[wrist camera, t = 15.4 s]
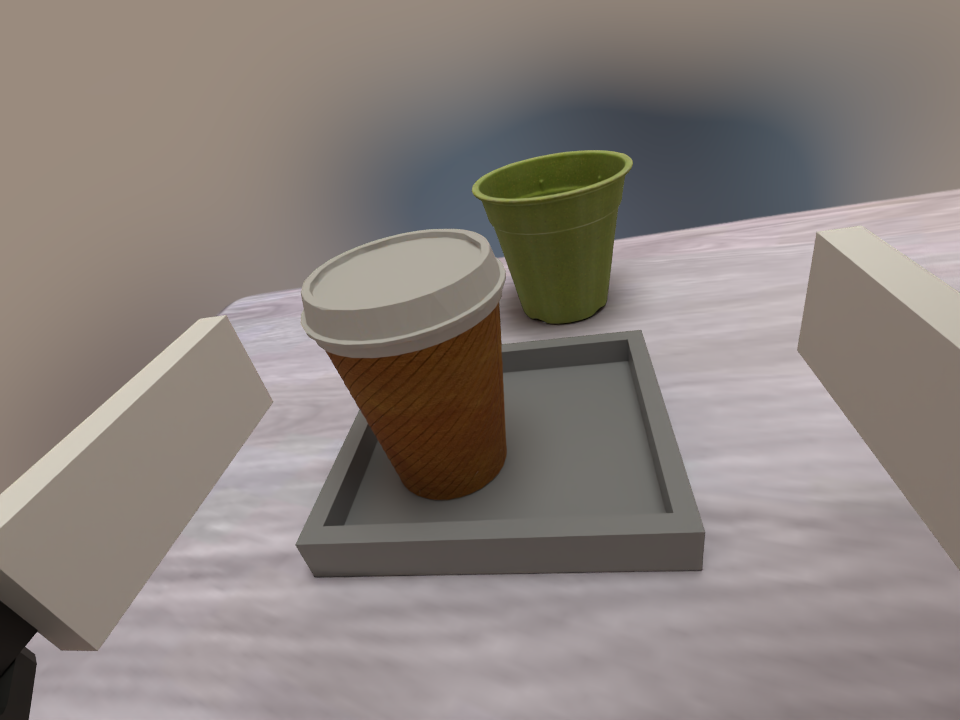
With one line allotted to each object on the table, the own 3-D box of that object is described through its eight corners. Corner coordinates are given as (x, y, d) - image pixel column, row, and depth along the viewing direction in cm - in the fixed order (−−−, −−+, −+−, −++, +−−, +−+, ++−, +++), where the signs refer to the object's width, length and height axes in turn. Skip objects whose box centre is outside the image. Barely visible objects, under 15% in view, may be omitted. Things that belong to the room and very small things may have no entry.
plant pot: (475, 305, 47) (448, 182, 41) (583, 264, 50) (573, 144, 44) (538, 360, 37) (516, 209, 31) (667, 305, 40) (669, 159, 34)
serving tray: (641, 361, 35) (641, 329, 33) (702, 570, 21) (704, 532, 20) (394, 384, 38) (384, 356, 37) (314, 576, 25) (295, 544, 24)
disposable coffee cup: (340, 474, 30) (253, 289, 23) (456, 389, 35) (411, 218, 28) (447, 560, 23) (369, 339, 17) (570, 441, 28) (545, 236, 22)
